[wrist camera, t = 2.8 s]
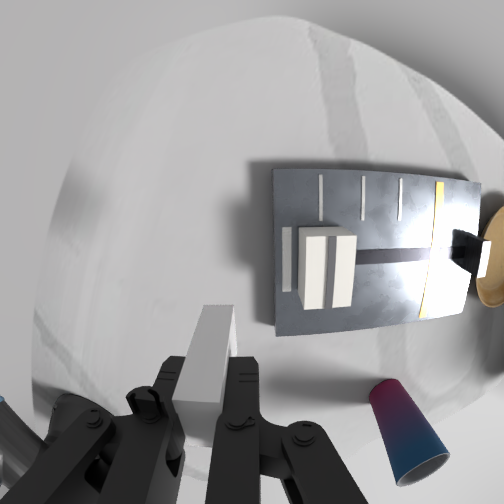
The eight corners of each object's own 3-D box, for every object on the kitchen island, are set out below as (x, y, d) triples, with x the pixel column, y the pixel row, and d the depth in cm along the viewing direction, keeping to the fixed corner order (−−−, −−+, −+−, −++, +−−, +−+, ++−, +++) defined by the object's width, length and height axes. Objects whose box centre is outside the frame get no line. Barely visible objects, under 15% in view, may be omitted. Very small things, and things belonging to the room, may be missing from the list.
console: (274, 326, 29) (278, 354, 24) (271, 169, 24) (276, 168, 20) (453, 305, 29) (474, 323, 24) (470, 181, 24) (498, 185, 19)
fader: (297, 291, 25) (304, 310, 22) (298, 227, 24) (306, 237, 20) (339, 289, 25) (351, 307, 22) (342, 226, 24) (357, 236, 20)
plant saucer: (529, 242, 27) (539, 246, 24) (485, 316, 30) (495, 324, 27) (499, 176, 24) (512, 178, 22) (448, 264, 27) (461, 271, 25)
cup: (367, 379, 32) (407, 467, 17) (410, 369, 31) (459, 445, 17) (359, 411, 34) (389, 492, 19) (399, 401, 33) (436, 473, 19)
